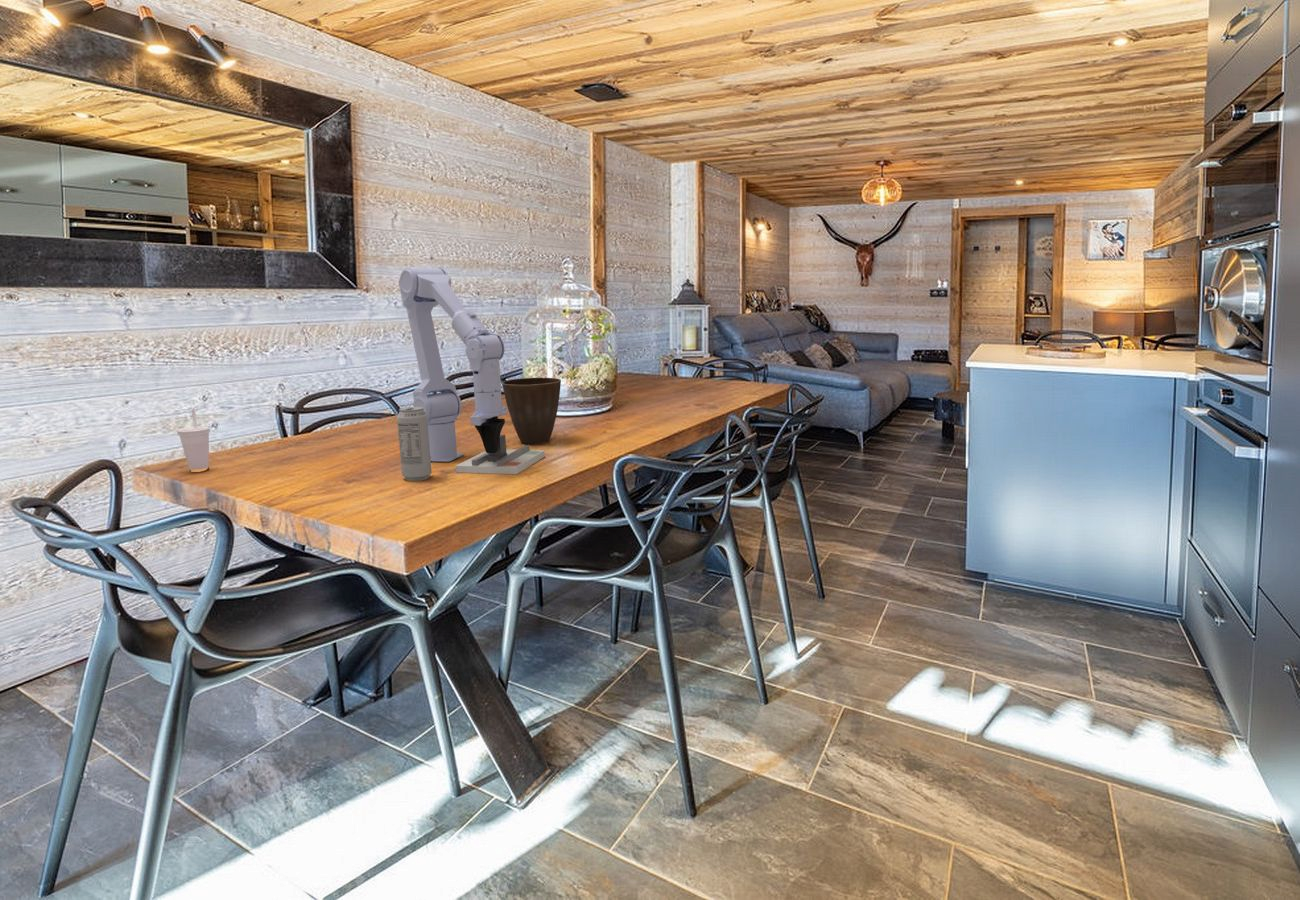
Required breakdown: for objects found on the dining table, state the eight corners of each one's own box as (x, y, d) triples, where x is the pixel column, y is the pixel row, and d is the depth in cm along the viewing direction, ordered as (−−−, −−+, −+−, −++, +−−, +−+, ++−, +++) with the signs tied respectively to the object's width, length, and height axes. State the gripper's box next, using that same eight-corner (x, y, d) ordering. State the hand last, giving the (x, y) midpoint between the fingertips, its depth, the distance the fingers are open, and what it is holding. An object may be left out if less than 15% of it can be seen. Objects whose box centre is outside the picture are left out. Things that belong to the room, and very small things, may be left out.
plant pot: (538, 450, 189) (534, 385, 186) (493, 444, 197) (489, 382, 193) (575, 439, 201) (572, 379, 198) (531, 434, 209) (528, 376, 206)
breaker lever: (487, 461, 170) (486, 437, 169) (495, 457, 174) (493, 434, 172) (500, 461, 169) (499, 437, 168) (507, 458, 173) (506, 434, 172)
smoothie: (221, 468, 175) (213, 408, 172) (195, 475, 169) (186, 412, 166) (203, 466, 178) (194, 407, 175) (176, 472, 172) (167, 411, 169)
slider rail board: (456, 472, 167) (455, 460, 166) (489, 455, 184) (489, 444, 183) (516, 474, 164) (515, 462, 163) (544, 456, 181) (544, 445, 181)
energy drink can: (437, 476, 164) (432, 406, 161) (418, 482, 158) (412, 411, 155) (415, 473, 166) (410, 405, 163) (396, 480, 161) (389, 409, 158)
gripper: (491, 395, 157) (495, 460, 160) (517, 386, 171) (520, 446, 174) (459, 395, 159) (464, 459, 162) (488, 386, 173) (492, 445, 176)
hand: (491, 452), depth 168 cm, fingers closed
